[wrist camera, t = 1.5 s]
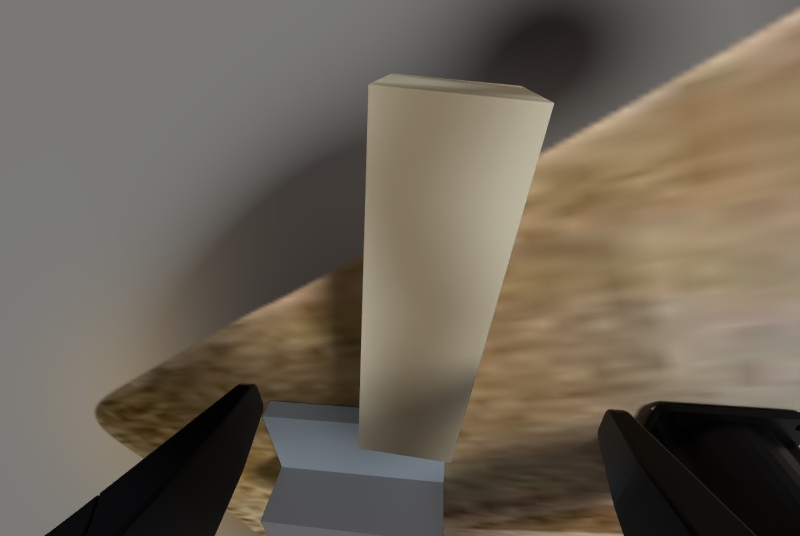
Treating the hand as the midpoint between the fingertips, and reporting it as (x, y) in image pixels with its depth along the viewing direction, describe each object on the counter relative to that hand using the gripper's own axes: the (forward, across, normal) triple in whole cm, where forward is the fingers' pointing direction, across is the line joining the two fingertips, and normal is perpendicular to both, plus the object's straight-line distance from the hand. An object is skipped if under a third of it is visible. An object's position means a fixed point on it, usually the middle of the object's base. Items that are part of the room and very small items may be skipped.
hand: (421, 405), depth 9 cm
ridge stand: (+6, +4, +15) cm, 17 cm away
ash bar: (+7, 0, 0) cm, 7 cm away
